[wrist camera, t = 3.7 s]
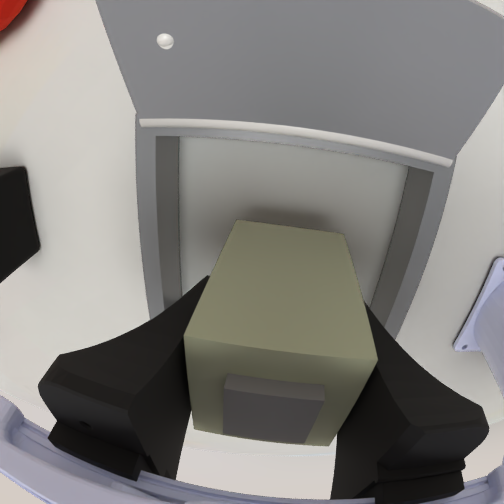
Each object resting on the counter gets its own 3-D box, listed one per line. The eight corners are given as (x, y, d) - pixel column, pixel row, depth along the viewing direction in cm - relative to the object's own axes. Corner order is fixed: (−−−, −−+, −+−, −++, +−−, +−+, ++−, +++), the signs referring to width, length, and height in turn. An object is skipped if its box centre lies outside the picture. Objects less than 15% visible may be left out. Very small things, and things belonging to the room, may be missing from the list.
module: (343, 233, 13) (381, 375, 6) (322, 317, 15) (328, 458, 8) (236, 219, 13) (176, 350, 6) (231, 305, 15) (190, 441, 8)
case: (440, 50, 11) (540, 33, 4) (371, 336, 20) (392, 437, 13) (170, 16, 12) (77, -29, 5) (169, 309, 21) (122, 402, 14)
